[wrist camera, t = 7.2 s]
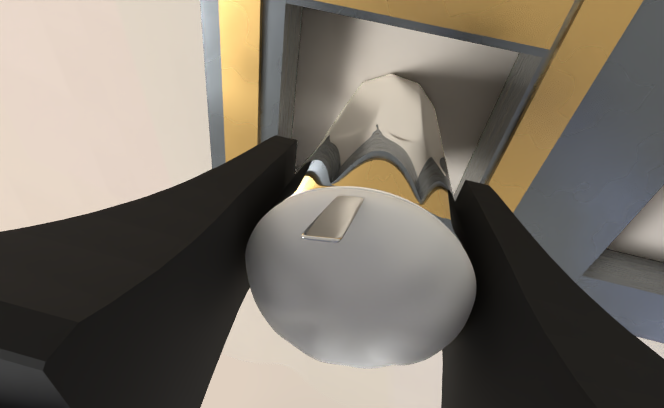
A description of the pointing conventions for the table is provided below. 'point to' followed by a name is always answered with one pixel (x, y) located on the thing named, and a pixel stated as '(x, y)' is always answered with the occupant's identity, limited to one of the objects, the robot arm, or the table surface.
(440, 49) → the table surface
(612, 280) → the grey slotted plate
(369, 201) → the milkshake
